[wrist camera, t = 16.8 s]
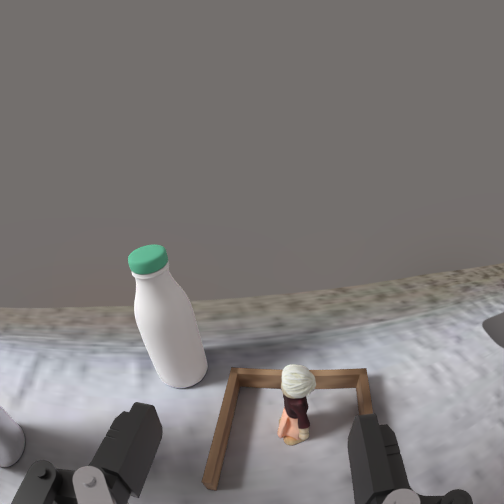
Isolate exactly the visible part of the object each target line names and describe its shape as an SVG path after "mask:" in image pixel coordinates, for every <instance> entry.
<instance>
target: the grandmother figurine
mask: <svg viewBox="0 0 504 504" xmlns="http://www.w3.org/2000/svg"><path fill="white" fill-rule="evenodd" d="M315 387H316V381H315V377H314V375H313V374H312V373H311V372H310V371H309V369H308V368H306V367H305V366H302V365H294V364H292V365H288V366H286V367H285V368H284V369H283V371H282V382H281V390H282V392H283V397H284V406H285V407H284V410H283V413H282V417H281V418H280V420H279V428H278V436H279V437H280V438H283V439H284V442H285V443H286V444H287V445H295V444H297V443H300V442H302V441H304V440H306V439H308V437H309V433H308V431H309V426H310V422H309V420H308V417H307V414H306V413H307V410H308V403H307V399H306V396H309V395H310V393H311V392H312V391H314V389H315Z"/></svg>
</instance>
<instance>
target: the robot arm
mask: <svg viewBox="0 0 504 504" xmlns="http://www.w3.org/2000/svg"><path fill="white" fill-rule="evenodd" d="M162 432H163V431H162V425H161V423H160V420H159V418H158V415H157V412H156V410H155V407H154V406H153V405H149V404H144V403H139V402H136V403H134V404H133V406H132V408H131V410H130V412H125V411H124V412H122V413H121V414H120V415H119V416H118V417H116V418H115V420H114V421H113V423H112V425H111V427H110V430H108V432H107V434H106V437H105V438H104V440H103V441H102V443H101V445H100V447H99V449H98V451H97V453H96V454H95V456H94V458H93V460H92V462H91V463H90V464H89V465H88V466H84V467H81V468H79V469H78V470H77V471H71V470H63V469H56V468H55V467H54V466H53V465H52V464H51V463H50V462H48V461H45V460H40V461H37V462H35V463H33V464H32V465H31V467H30V469H29V470H28V472H27V474H26V476H25V478H24V480H23V481H22V483H21V485H20V487H19V489H18V491H17V493H16V495H15V497H14V499H13V501H12V503H11V504H129V503H128V499H129V497H130V495H131V496H134V497H137V498H139V496H140V493H141V491H142V488H143V485H144V483H145V480H146V478H147V475H148V472H149V470H150V467H151V465H152V462H153V459H154V457H155V454H156V452H157V449H158V446H159V444H160V441H161V439H162ZM24 446H25V436H24V433H23V430H22V429H21V427H20V426H19V425H18V424H17V423H16V422H15V421H14V420H13V419H12V418H11V417H10V416H9V415H8V414H7V412H6V411H5V410H4V409H3V408H2V407H1V406H0V467H8V466H11V465H13V464H14V463H16V462H17V461H18V460H19V458H20V457H21V455H22V453H23V450H24ZM348 454H349V460H350V468H351V475H352V482H353V490H354V499H355V504H473V502H472V499H471V496H470V495H469V493H467V492H466V491H464V490H460V489H457V490H452V491H450V492H448V493H447V494H446V495H445V496H422V495H419V494H417V493H415V492H414V491H413V490H412V489H411V488H410V486H409V483H408V479H407V475H406V472H405V468H404V464H403V460H402V457H401V454H400V450H399V446H398V443H397V439H396V436H395V433H394V432H393V431H392V430H391V428H390V427H389V426H388V425H387V424H386V425H379V423H378V420H377V416H376V414H374V413H373V414H364V415H356V417H355V419H354V422H353V425H352V428H351V431H350V434H349V437H348Z"/></svg>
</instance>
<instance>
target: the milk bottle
mask: <svg viewBox="0 0 504 504" xmlns="http://www.w3.org/2000/svg"><path fill="white" fill-rule="evenodd" d="M128 262H129V266H130V269H131V271H132V275H133V276H134V277H135V278H136V296H135V304H134V312H135V318H136V322H137V325H138V328H139V331H140V334H141V336H142V339H143V341H144V344H145V346H146V348H147V351H148V353H149V355H150V358H151V360H152V362H153V364H154V367H155V369H156V371H157V373H158V375H159V377H160V379H161V380H162V381H163V382H164V383H165V384H167V385H169V386H171V387H175V388H187V387H190V386H193V385H195V384H197V383H198V382H200V381H201V380H202V379H203V377H204V376H205V374H206V371H207V368H208V364H207V359H206V355H205V352H204V348H203V344H202V341H201V337H200V333H199V330H198V326H197V322H196V319H195V315H194V312H193V309H192V305H191V303H190V300H189V298H188V296H187V295H186V293H185V292H184V290H183V289H182V288H181V287H180V286H179V285H178V283H176V281H175V280H174V279H173V277H172V275H171V274H170V272H169V269H168V267H169V262H168V257H167V253H166V250H165V248H164V247H162V246H160V245H148V246H143V247H140V248H138V249H136V250H134V251H133V252H132V253H131V254H130V255H129V257H128Z"/></svg>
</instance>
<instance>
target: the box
mask: <svg viewBox="0 0 504 504" xmlns="http://www.w3.org/2000/svg"><path fill="white" fill-rule="evenodd" d="M282 371H283V370H272V369H249V368H233V367H231V371H230V375H229V379H228V383H227V387H226V390H225V394H224V398H223V402H222V406H221V410H220V414H219V418H218V422H217V425H216V429H215V433H214V437H213V441H212V445H211V448H210V452H209V456H208V460H207V464H206V467H205V471H204V475H203V479H202V483H203V484H204V485H205V486H206V488H207V489H210V490H217V486H218V482H219V477H220V473H221V469H222V465H223V460H224V456H225V452H226V447H227V443H228V438H229V434H230V429H231V425H232V420H233V416H234V411H235V407H236V402H237V398H238V393H239V389H240V387H255V388H277V389H281V382H282ZM309 371H310V372H311V373H312V374H313V375H314V377H315V381H316V387H315V389H336V388H356V391H357V400H358V410H359V415H364V414H373V410H372V403H371V396H370V389H369V382H368V376H367V370H366V368H362V369H340V370H309Z"/></svg>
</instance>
